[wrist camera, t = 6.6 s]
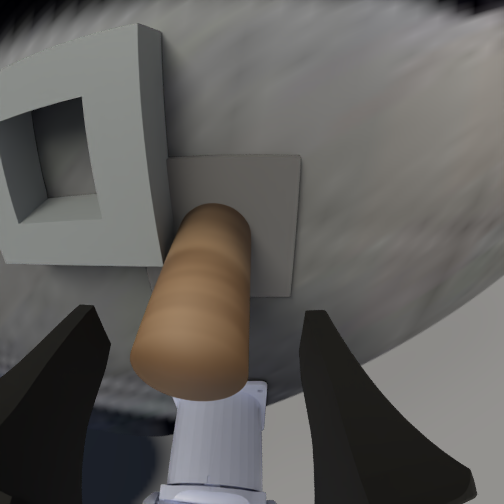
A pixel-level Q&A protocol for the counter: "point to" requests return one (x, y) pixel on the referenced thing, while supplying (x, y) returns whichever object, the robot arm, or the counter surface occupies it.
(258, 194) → the pad
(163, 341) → the peg
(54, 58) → the socket
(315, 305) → the counter surface
